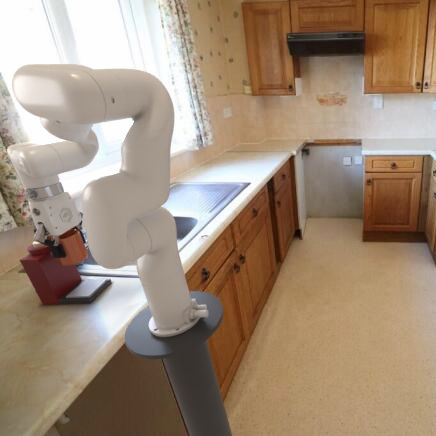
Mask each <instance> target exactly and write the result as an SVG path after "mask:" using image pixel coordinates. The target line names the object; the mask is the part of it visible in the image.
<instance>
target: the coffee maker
mask: <svg viewBox="0 0 436 436" xmlns="http://www.w3.org/2000/svg"><path fill="white" fill-rule="evenodd" d="M50 254H51V256H52V255H53V254H52V252H50ZM112 283H113V282H112V279H111V278H89V279H88V278H87V279H82V280H81V281H80V282H79V283H78V284H76V285H75V286H74V287H73V288H72V289H70V290H69V291H68V292H67V293H66V294H64V295H63V296H62V297H61V298H60V299H59V300H58V302H59V304H58V305H83V304H84V305H85V304H89V305H90V304H92V303H93V302H94V301H95V300H96V299H97V298H98V297H99V296H100V295H101V294H102V293H103V292H104V291H105V290H106V289H108V288H109V286H110V285H111V284H112Z"/></svg>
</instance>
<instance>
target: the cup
mask: <svg viewBox="0 0 436 436" xmlns="http://www.w3.org/2000/svg"><path fill="white" fill-rule="evenodd" d="M51 240H52V241H53V236H51ZM59 244H62V246H63V248H64V250H65V253H66V255H67V256H66V257H65V258H57V259H58V261H59V263H60V264H61V265H63V266H68V265H73V264H77V263H79V262H82V261H83V262H84V261H85V260H87V259H88V258H89V252H88V250H87V247H86V243H85V244H84V242H83V240H82V237H81V235H80V232H79V230H77V229H70V230H68V231H67V232H65V233H63V234H62V235H59Z"/></svg>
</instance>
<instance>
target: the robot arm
mask: <svg viewBox="0 0 436 436" xmlns="http://www.w3.org/2000/svg"><path fill="white" fill-rule="evenodd" d="M11 87H12V93H13V95H14V97H15V99H16V101H17V103H18V104H19V105H20V106H21V107H22V109H24V110H25V111H26V112H28V113H29V114H31V115H33V116H35V117H38V118H39V120H40V124H41V125H42V127H43V128H44V129H45V130H46V131H47V132H48V133H49V134H50V135H52V136H53V137H55V138H58V139H60V140H55V141H49V142H41V141H24V142H19V143H14V144H11V145H9V146H8V147H7V149H6V153H7V156H8V157H9V160H10V162H11V164H12V166H13V168H14V171H15V173H16V175H17V177H18V179H19V182H20V184H21V186H22V188H23V189H24V192H25V194H24V198H26V199H27V200H28V201H27V203H28V208H29V212H30V216H31V219H32V221H33V224H34V226H36V228H37V231H36V234H35V233H34V236H33V242H34V241H36V242H39V243H41V244H43V245H46V246H49V248H50V250H51V252H52V254H53V257H54V258H65V257H66V256H67V255H66V253H65V250H64V248H63V246H62V244H59V235H62V234H63V233H65V232H67V231H68V230H70V229H77V230H79V232H80V235H81V237H82V240H83V242H84V244H85V245H86V243H87V246H88V250H89V252H90V255H91V256H92V258H93V260H94V261H95V262H96V263H97V264H98V265H99V266H100V267H102V268H104V269H107V270H118V269H121V268H122V269H123V268H124V267H126V266H128V265H130V264H132V263H134V262H136V273H137V275H138V278H139V281H140V284H141V287H142V290H143V292H144V295H145V299H146V302H147V305H148V306H149V307H150V310H151V313H152V317H151V319H150V321H149V329H150V331H151V333H152V334H153V335H155V336H159V337H171V336H175V335H178V334H181V333H183V332H185V331H187V330H188V329H190V328H191V327H193V326H194V325H195V324H196V323H197V322H198V320H199V319H200V318H207V317H208V314H209V312H208V310H206V309H207V305H198V304H197V303H196V299H191V296H190V293H189V291H190V289H189V286H188V283H187V279H186V275H185V274H186V273H185V272H184V267H183V263H182V260H181V256H180V252H179V246H178V233H177V232H178V231H177V223H176V220H175V217H174V215H173V214H172V212H171V211H170V210H168V208H166V207H164V205H165V204H166V203H167V202H168V200H169V197H170V190H171V147H172V141H173V135H174V130H175V118H176V117H175V116H176V115H175V107H174V103H173V100H172V97H171V95H170V92H169V91H168V89H167V88H166V86H165V84H163V82H162V81H161V80H160V79H159V78H158V77H156V75H154V74H152V73H150V72H148V71H145V70H140V69H135V68H134V69H133V68H97V69H96V68H91V67H89V66H86V65H83V64H75V63H48V64H47V63H35V64H33V63H32V64H25V65H22V66H20V67H19V68H17V69H16V70H15V72H14V74H13V76H12V80H11ZM126 119H131V120H132V122H131V123H130V125H129V127H128V128H127V130H126V132H125V133H124V136H123V138H122V141H121V146H120V155H121V165H120V167H119V169H118V170H116V171H115V172H112V173H109V174H105V175H103V176H99V177H98V178H94V179H93V180H91V181H88V183H87V184H86V185H85V187H84V188H83V190H82V192H81V196H80V197H81V199H80V200H81V210H82V212H81V211H79V209H78V206H77V205H76V203H75V200H74V199H73V197H72V196H71V194H70V193H69V191H67V190H66V189H65V188H64V186H63V184H62V181H61V178H60V176H59V175H61V174H64V173H68V172H72V171H75V170H76V171H77V170H79V169H83V168H86V167H87V166H89V165H90V164H91V163H92V162H93V161H94V159H95V157H96V156H97V154H98V153H99V149H100V143H99V139H98V135H97V133H96V132H95V130H94V128H93V126H94V125H95V124H102V123H108V122H112V121H122V120H126ZM83 223H84V231H85V236H84V234H83V231H82V230H83V226H82V225H83ZM44 236H45V238H44ZM51 236H53V241H52V240H51ZM85 237H86V238H85Z"/></svg>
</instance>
